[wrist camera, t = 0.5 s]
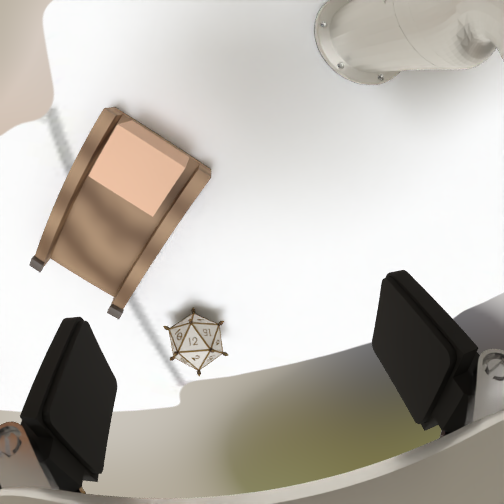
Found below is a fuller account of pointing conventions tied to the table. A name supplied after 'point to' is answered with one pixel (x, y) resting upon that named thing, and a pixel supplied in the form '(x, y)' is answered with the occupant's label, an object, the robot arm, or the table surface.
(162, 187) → the block
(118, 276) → the chute
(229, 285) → the table surface
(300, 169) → the table surface
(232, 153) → the table surface
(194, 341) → the game die
